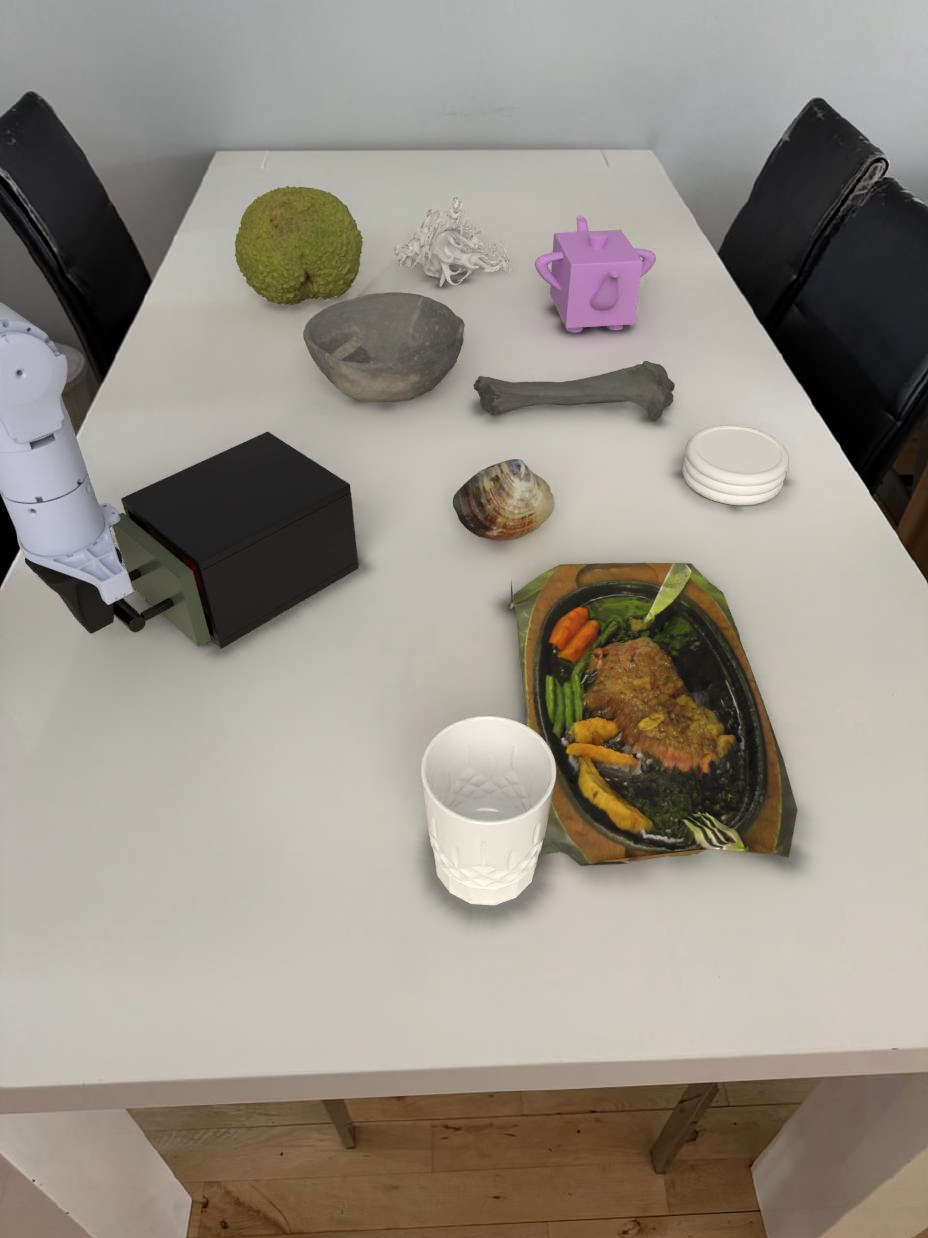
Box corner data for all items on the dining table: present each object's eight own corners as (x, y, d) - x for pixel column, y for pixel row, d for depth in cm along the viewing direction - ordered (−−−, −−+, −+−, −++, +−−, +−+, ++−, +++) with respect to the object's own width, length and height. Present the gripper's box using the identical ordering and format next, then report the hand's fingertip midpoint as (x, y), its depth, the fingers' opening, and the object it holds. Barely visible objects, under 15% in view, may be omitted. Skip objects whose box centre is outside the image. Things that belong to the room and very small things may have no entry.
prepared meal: (830, 827, 58) (547, 837, 57) (815, 859, 60) (543, 870, 59) (714, 558, 79) (506, 562, 78) (706, 589, 81) (504, 594, 80)
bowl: (365, 338, 114) (360, 275, 109) (490, 371, 108) (492, 306, 103) (279, 403, 103) (268, 336, 97) (413, 443, 97) (410, 374, 91)
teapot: (668, 318, 119) (681, 233, 111) (608, 354, 111) (618, 266, 104) (573, 286, 126) (580, 204, 119) (512, 318, 119) (515, 233, 111)
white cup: (490, 939, 56) (494, 849, 49) (400, 863, 60) (392, 769, 53) (569, 857, 60) (583, 763, 53) (481, 790, 64) (483, 695, 57)
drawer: (154, 672, 71) (131, 603, 66) (88, 608, 76) (62, 539, 71) (330, 570, 80) (321, 503, 75) (260, 519, 85) (248, 453, 80)
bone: (666, 398, 104) (674, 348, 100) (676, 428, 99) (685, 377, 95) (473, 398, 104) (473, 349, 100) (473, 428, 99) (474, 377, 95)
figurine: (389, 240, 130) (430, 167, 124) (477, 292, 136) (521, 225, 130) (390, 277, 121) (435, 199, 115) (485, 331, 127) (532, 260, 121)
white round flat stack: (778, 516, 87) (787, 486, 85) (674, 496, 90) (680, 466, 87) (785, 461, 94) (794, 431, 92) (689, 444, 97) (694, 415, 94)
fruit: (289, 335, 115) (221, 220, 108) (267, 331, 127) (204, 227, 120) (395, 269, 117) (335, 152, 110) (363, 271, 130) (307, 166, 123)
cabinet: (221, 649, 74) (199, 563, 68) (146, 582, 80) (120, 497, 74) (358, 568, 82) (350, 484, 75) (281, 512, 88) (267, 430, 81)
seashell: (543, 510, 88) (549, 439, 83) (560, 547, 84) (567, 474, 78) (447, 523, 87) (446, 451, 81) (459, 560, 82) (459, 487, 77)
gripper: (151, 499, 60) (193, 644, 70) (49, 417, 68) (99, 558, 77) (51, 546, 57) (109, 693, 66) (-46, 454, 64) (19, 598, 74)
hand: (98, 623), depth 71 cm, fingers closed, pressing on drawer
